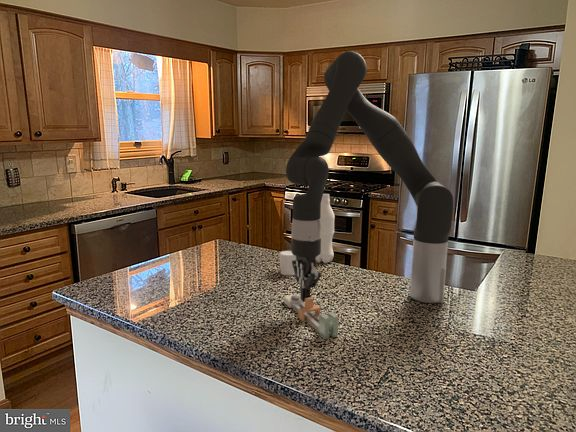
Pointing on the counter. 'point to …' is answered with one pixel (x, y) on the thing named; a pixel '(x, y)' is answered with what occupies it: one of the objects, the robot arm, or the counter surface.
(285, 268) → the shot glass
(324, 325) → the leg
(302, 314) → the stepped wooden block
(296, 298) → the block
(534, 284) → the counter surface
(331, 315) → the leg
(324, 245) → the water bottle
